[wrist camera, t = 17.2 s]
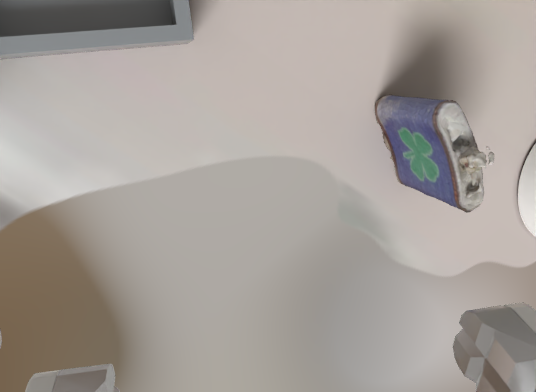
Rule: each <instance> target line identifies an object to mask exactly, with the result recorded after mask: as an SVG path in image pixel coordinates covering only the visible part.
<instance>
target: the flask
mask: <svg viewBox="0 0 536 392" xmlns="http://www.w3.org/2000/svg"><path fill="white" fill-rule="evenodd" d="M375 115H376V121H377V123H378V124H380V126H381V129H382V131H383V132H382V134H383V139H384V143H385V144H386V147H387V149H388V148H389V150H390V151H391V153H392V156H391V159H392V160H393V162H394V164H395V169H394V170H395V171H396V176H397V180H398V182H400V183H401V184H404V185H405V186H409V187H411V188H414V189H416V190H418V191H420V192H422V193H424V194H426V195H428V196H431V197H434V198H436V199H438V200H441V201H443V202H446V203H448V204H449V205H451V206H454V207H457V208H458V209H461V210H463V211H465V212H471V211H472V210H474V209H475V208H477V207H478V206H479V205H480V203H481V202H482V201H483V196H484V188H483V174H482V167H485V168H486V161H487V160H486V155H485V154H484V153H483V152H480V151H479V150H478V148H477V144H476V142H475V139H474V136H473V133H472V130H471V128H470V126H469V124H468V122H467V119H466V117H465V114H464V113H463V111H462V109H461V107H460V106H459V105H458V104H457V102H455V101H453V100H451V101H449V100H435V99H425V98H411V97H401V96H393V95H386V96H384V97H381V98H380V99H379V100H378V101H377V102H376V103H375ZM486 149H487V150H490V148H489V147H486ZM488 157H489V165H490V164H493V163H494V154H493V153H492V152H490V153H489V155H488Z"/></svg>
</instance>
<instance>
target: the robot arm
mask: <svg viewBox="0 0 536 392" xmlns="http://www.w3.org/2000/svg"><path fill="white" fill-rule="evenodd" d="M518 206H519V211H520V215H521V218H522V220H523V222H524V224H525V226H526V227H527V229H528V230H529V231H530V232H531V233H532V234H533V235H534V236H536V143H535V145H534V146H533V148H532V149H531V151H530V153H529V155H528V157H527V159H526V161H525V164H524V166H523V169H522V172H521V176H520V180H519V187H518ZM459 323H460V325H461V326H462V328H463V329H462V330H461V331H460V332H459V333H458V334H457V335H456V336H455V340H454V344H453V350H454V357H455V360H456V362H457V364H458V367H459V368H460V370H461V371H462V373H463V374H464V376H465V377H467V378H469V379H470V380H472V381H474V382H475V383H476V392H536V311H535V310H534V309H533V308H532V307H531V306H530V305H528V304H526V303H524V302H522V303H515V304H509V305H504V306H495V307H488V308H482V309H475V310H469V311H466V312H465V313H464V314H463V315H462V316H461V319H460V322H459ZM114 381H115V372H114V369H113V366H112V364H105V365H97V366H89V367H81V368H72V369H64V370H59V371H51V372H43V373H35V374H34V375H33V376H32V378H31V379H30V380H29V383H28V385H27V388H26V391H25V392H119V389H118V388H117V387H115V386H114Z"/></svg>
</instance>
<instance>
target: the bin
mask: <svg viewBox="0 0 536 392" xmlns="http://www.w3.org/2000/svg"><path fill="white" fill-rule="evenodd" d="M192 40H194V36H193V29H192V21H191V14H190V7H189V0H0V59H6V58H19V57H31V56H43V55H55V54H68V53H80V52H92V51H104V50H117V49H129V48H141V47H153V46H166V45H178V44H188V43H190V42H191V41H192Z"/></svg>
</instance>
